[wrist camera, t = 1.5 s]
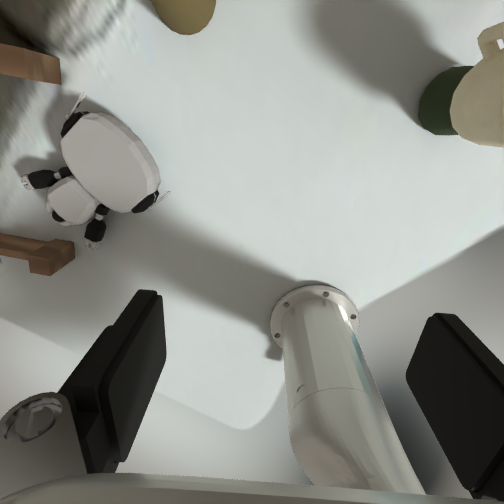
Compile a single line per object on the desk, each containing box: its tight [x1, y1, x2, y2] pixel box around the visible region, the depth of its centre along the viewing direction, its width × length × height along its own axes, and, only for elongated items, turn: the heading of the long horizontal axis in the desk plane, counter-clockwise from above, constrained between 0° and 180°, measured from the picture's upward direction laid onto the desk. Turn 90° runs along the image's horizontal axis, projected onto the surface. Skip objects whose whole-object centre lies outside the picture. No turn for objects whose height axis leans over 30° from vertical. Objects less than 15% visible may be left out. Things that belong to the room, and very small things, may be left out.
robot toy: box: [21, 92, 170, 250], centre depth 34 cm, size 12×4×15 cm
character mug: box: [419, 22, 504, 148], centre depth 25 cm, size 11×7×13 cm, turn 37°
